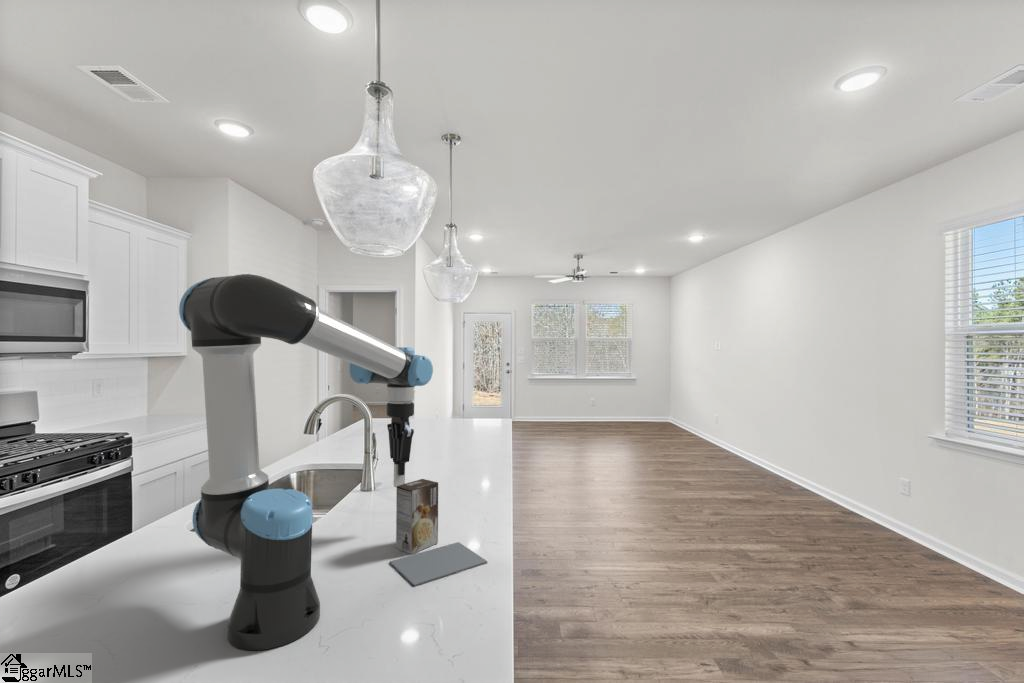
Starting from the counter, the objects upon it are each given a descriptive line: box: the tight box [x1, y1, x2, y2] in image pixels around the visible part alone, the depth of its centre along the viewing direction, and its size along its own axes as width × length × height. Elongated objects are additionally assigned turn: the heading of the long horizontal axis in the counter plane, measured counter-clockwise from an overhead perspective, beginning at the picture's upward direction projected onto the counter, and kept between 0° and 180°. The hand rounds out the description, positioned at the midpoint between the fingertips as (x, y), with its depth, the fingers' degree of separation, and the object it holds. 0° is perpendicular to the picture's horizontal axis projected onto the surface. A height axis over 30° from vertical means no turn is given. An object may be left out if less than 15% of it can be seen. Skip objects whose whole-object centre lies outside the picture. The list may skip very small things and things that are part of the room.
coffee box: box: [395, 478, 439, 555], centre depth 119 cm, size 9×6×16 cm
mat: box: [389, 541, 488, 587], centre depth 110 cm, size 19×14×1 cm
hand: (399, 485), depth 129 cm, fingers closed
